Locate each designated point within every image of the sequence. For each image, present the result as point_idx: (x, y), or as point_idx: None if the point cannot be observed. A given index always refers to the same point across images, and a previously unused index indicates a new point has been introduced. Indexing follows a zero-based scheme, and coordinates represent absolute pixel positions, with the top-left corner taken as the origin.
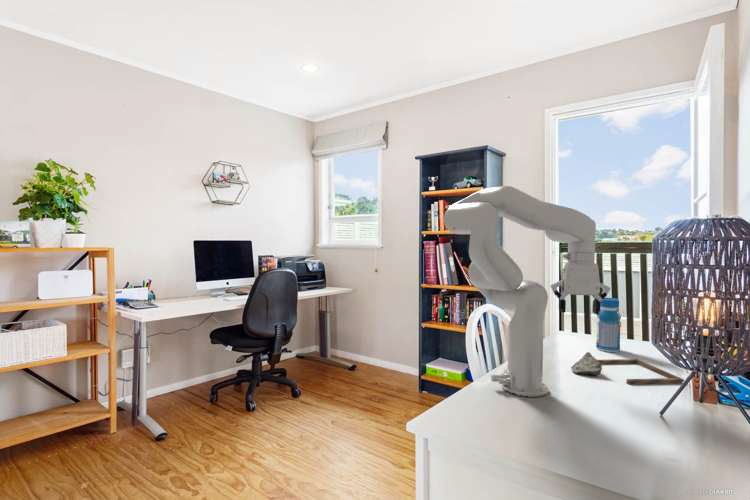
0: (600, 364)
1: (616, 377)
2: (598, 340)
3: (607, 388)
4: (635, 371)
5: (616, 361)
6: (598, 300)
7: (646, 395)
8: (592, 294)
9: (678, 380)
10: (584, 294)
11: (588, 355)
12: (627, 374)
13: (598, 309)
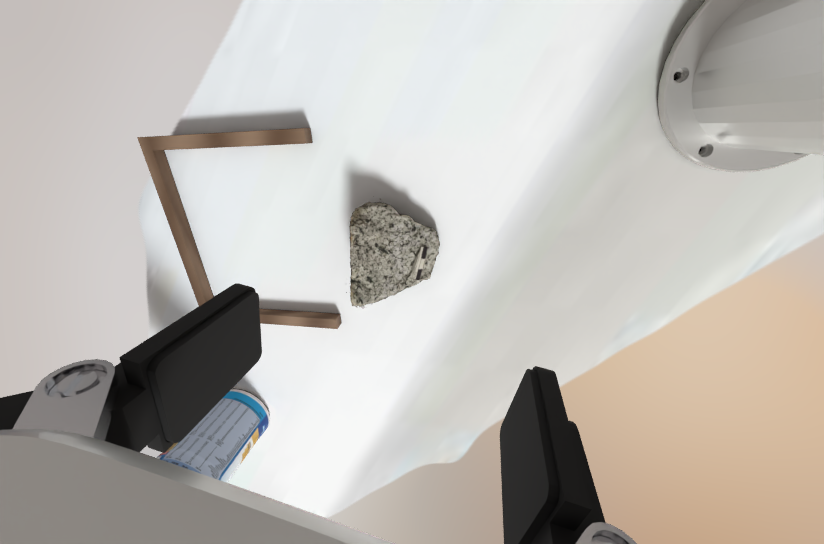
0: (350, 225)
1: (320, 197)
2: (253, 433)
3: (402, 86)
4: (242, 246)
5: (264, 313)
6: (109, 376)
7: (301, 10)
8: (75, 448)
9: (155, 137)
10: (231, 498)
11: (360, 289)
12: (275, 222)
13: (206, 302)
